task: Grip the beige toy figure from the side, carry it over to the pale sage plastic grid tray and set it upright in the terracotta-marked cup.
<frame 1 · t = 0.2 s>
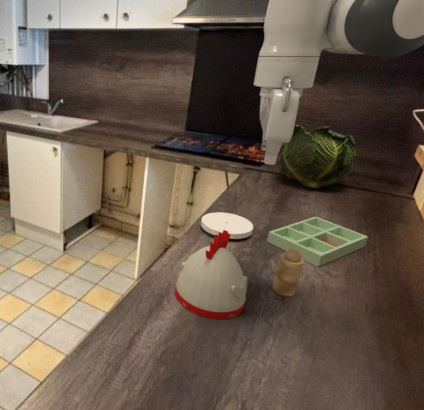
hand: (267, 156, 65), 30 cm above the table, tool pointing down, fingers open, 8 cm apart
cabbage: (308, 184, 140), on the table
grid: (315, 244, 96), on the table
kitchen timer: (208, 297, 76), on the table
plastic lid: (225, 230, 104), on the table
beige toy figure: (283, 290, 78), on the table
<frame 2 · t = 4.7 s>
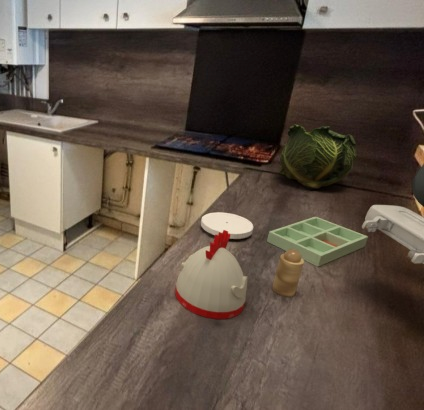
hand: (387, 240, 64), 16 cm above the table, tool horizontal, fingers open, 8 cm apart
nothing on the table moved.
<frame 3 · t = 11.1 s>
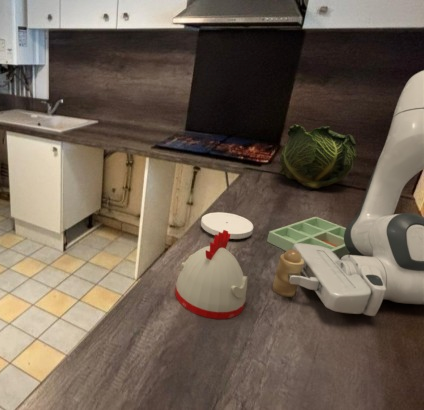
hand: (284, 270, 76), 5 cm above the table, tool horizontal, fingers closed on beige toy figure, 4 cm apart
beige toy figure: (283, 290, 78), on the table, touching gripper
everything else where it was.
when the fingers open (6 cm above the table, at t = 21.1 s): beige toy figure stays where it is, resting on grid.
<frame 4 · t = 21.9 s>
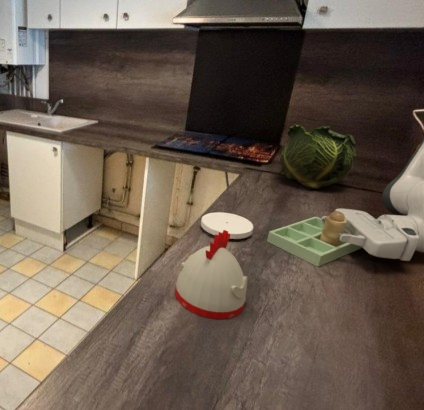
hand: (330, 228, 91), 6 cm above the table, tool horizontal, fingers open, 8 cm apart
beige toy figure: (328, 246, 93), point 1 cm above the table, touching grid
everything else where it was.
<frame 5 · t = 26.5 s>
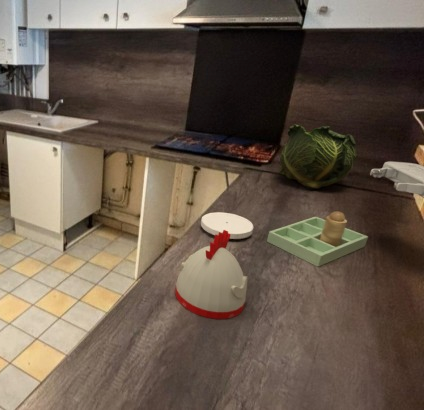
hand: (383, 179, 84), 20 cm above the table, tool horizontal, fingers open, 8 cm apart
nothing on the table moved.
at the end: beige toy figure 0.3 cm from the target spot in the grid, point 0.8 cm above the grid's base; beige toy figure tilted 0°; the gripper is holding nothing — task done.
